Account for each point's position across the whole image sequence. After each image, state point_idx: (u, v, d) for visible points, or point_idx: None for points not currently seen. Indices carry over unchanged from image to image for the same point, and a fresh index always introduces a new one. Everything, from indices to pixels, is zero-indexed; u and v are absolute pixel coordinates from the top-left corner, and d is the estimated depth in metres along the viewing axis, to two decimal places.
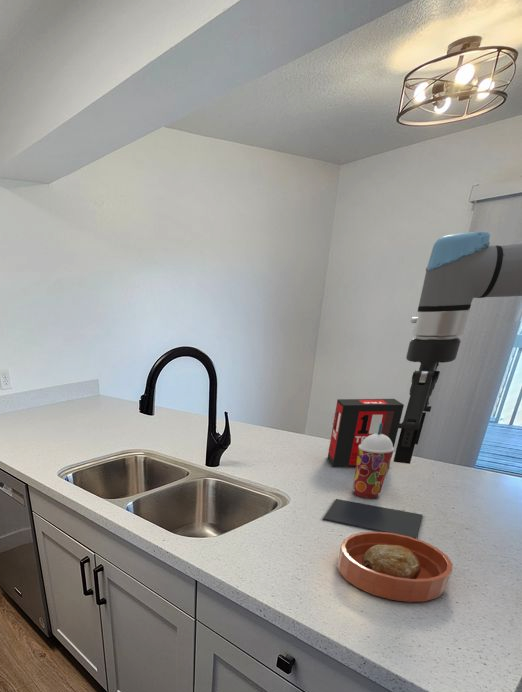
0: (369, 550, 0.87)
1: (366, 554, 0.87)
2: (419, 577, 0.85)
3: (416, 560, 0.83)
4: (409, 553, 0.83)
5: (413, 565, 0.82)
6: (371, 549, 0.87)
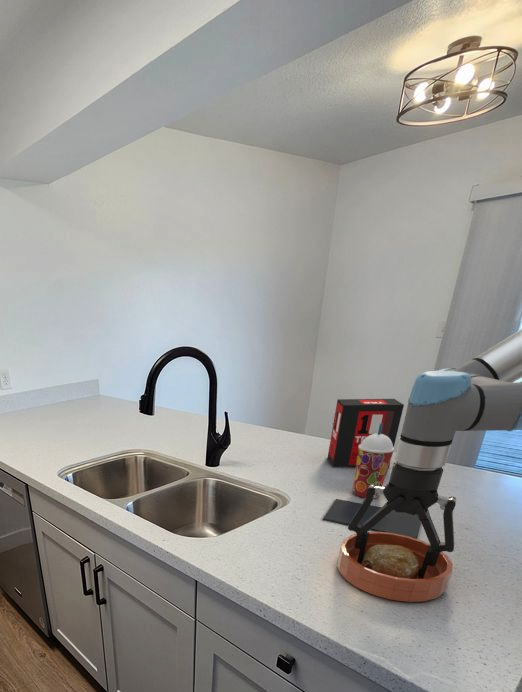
0: (369, 550, 0.87)
1: (366, 554, 0.87)
2: None
3: (416, 560, 0.83)
4: (409, 553, 0.83)
5: (414, 565, 0.82)
6: (371, 549, 0.87)
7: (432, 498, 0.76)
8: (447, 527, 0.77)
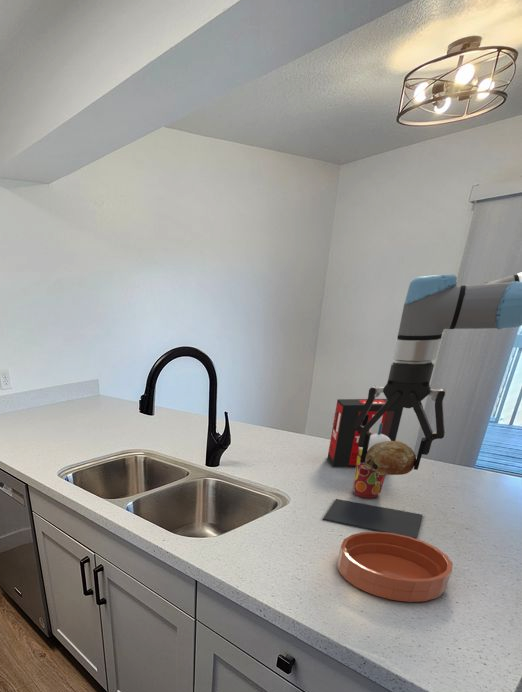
0: (371, 447, 1.00)
1: (368, 451, 1.00)
2: (419, 577, 0.85)
3: (412, 451, 0.95)
4: (406, 445, 0.96)
5: (410, 455, 0.94)
6: (373, 446, 0.99)
7: (425, 390, 0.89)
8: (438, 416, 0.89)
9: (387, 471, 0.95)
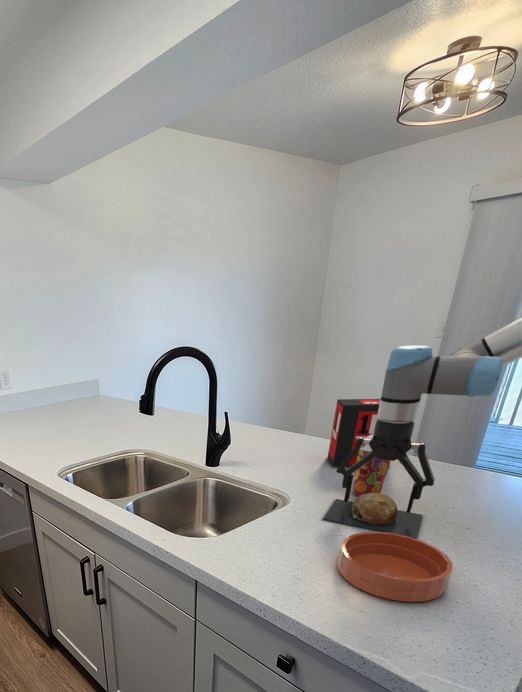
0: (357, 498, 1.09)
1: (355, 501, 1.09)
2: (419, 577, 0.85)
3: (394, 504, 1.05)
4: (388, 498, 1.05)
5: (391, 508, 1.04)
6: (359, 497, 1.09)
7: (406, 446, 0.98)
8: (424, 466, 0.97)
9: (371, 522, 1.05)
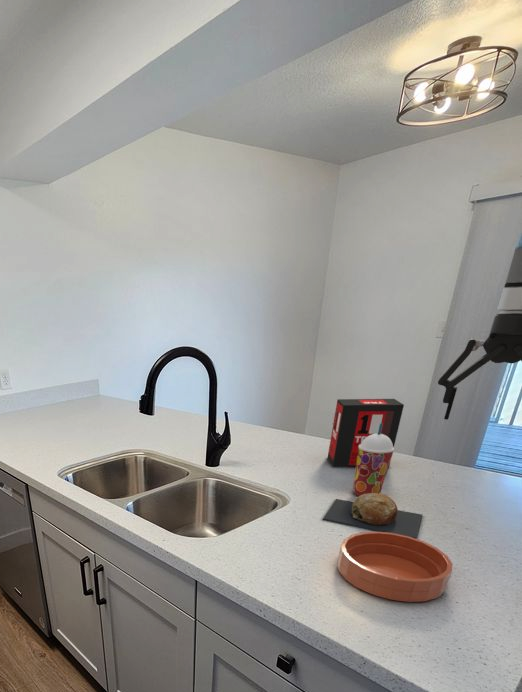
0: (357, 498, 1.09)
1: (355, 501, 1.09)
2: (419, 577, 0.85)
3: (394, 504, 1.05)
4: (388, 498, 1.05)
5: (391, 508, 1.04)
6: (359, 497, 1.09)
7: None
8: None
9: (371, 522, 1.05)
